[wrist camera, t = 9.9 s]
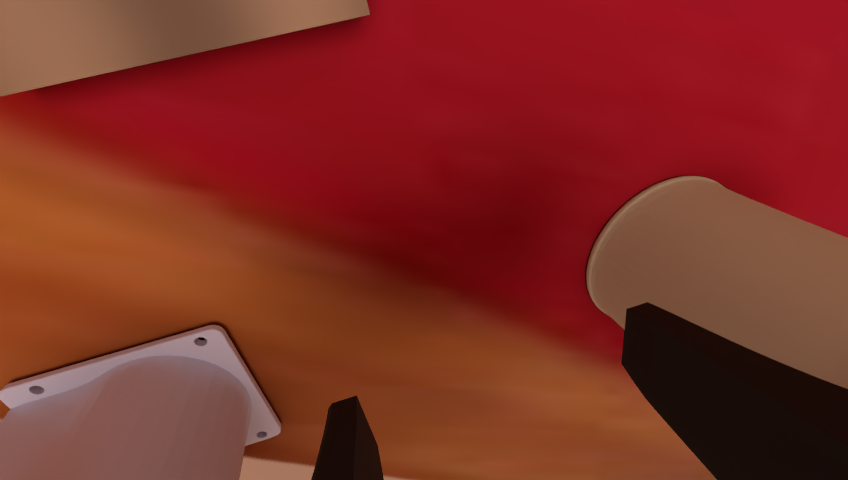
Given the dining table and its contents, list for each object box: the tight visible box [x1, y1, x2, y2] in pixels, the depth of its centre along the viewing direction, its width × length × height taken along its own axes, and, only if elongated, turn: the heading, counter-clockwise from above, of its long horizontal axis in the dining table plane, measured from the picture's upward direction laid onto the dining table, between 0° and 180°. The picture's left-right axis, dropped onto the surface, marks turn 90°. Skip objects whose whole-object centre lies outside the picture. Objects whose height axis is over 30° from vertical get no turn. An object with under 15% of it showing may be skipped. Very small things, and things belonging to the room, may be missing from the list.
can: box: [586, 176, 848, 389], centre depth 17 cm, size 9×9×12 cm
